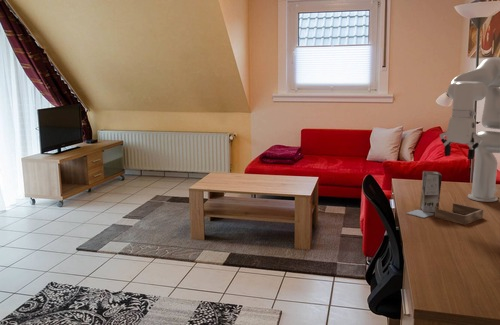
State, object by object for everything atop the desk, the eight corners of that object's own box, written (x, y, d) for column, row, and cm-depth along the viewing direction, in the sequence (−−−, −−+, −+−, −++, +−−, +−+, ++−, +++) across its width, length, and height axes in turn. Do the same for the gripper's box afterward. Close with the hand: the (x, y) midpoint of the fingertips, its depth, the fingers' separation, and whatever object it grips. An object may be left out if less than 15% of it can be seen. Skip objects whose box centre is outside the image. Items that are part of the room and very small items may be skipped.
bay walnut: (453, 211, 207) (453, 203, 206) (482, 218, 197) (483, 209, 197) (434, 217, 198) (435, 208, 197) (464, 224, 188) (465, 216, 188)
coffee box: (438, 213, 203) (442, 175, 200) (422, 211, 204) (426, 173, 201) (435, 207, 212) (438, 171, 209) (419, 206, 213) (422, 170, 210)
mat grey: (417, 210, 208) (417, 209, 208) (434, 214, 202) (434, 213, 201) (406, 213, 203) (406, 212, 203) (423, 218, 197) (423, 217, 196)
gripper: (489, 115, 186) (484, 159, 189) (447, 112, 199) (443, 153, 202) (479, 116, 181) (475, 161, 184) (436, 113, 195) (433, 155, 198)
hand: (458, 157), depth 193 cm, fingers open, 9 cm apart
